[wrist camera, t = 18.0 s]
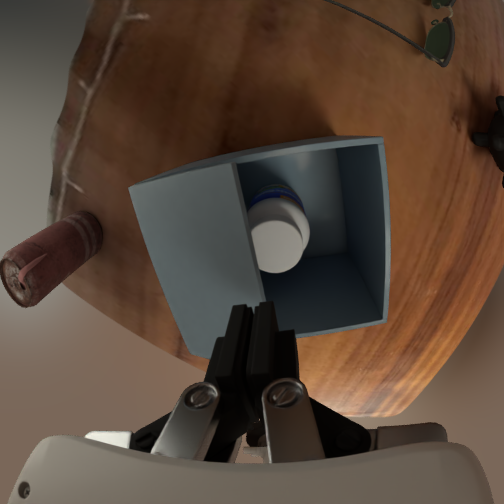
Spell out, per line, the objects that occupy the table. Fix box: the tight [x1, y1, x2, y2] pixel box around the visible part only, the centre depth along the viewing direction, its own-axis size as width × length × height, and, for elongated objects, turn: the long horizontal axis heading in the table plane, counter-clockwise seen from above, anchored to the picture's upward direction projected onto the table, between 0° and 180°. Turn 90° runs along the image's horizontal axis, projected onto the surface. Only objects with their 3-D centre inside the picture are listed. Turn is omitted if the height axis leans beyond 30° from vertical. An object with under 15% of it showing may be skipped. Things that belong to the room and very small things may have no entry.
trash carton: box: [134, 136, 391, 338], centre depth 22 cm, size 15×13×12 cm
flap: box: [128, 162, 266, 359], centre depth 15 cm, size 7×13×1 cm, turn 12°
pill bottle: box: [247, 184, 310, 273], centre depth 23 cm, size 5×5×10 cm
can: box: [0, 211, 102, 308], centre depth 24 cm, size 6×6×14 cm
